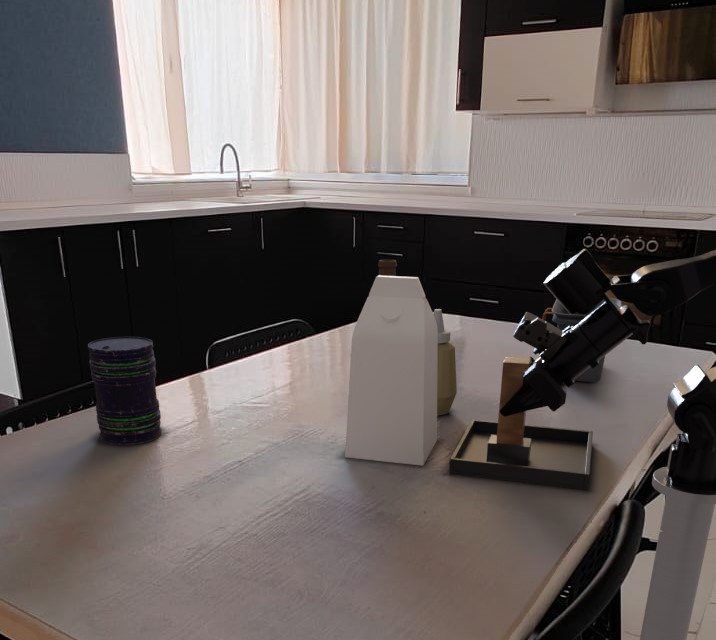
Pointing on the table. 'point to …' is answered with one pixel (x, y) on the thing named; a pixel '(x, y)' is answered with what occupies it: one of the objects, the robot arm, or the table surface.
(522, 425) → the wooden block on stand
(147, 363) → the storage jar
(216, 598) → the table surface
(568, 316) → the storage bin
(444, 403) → the squeeze bottle
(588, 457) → the pan
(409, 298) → the milk
